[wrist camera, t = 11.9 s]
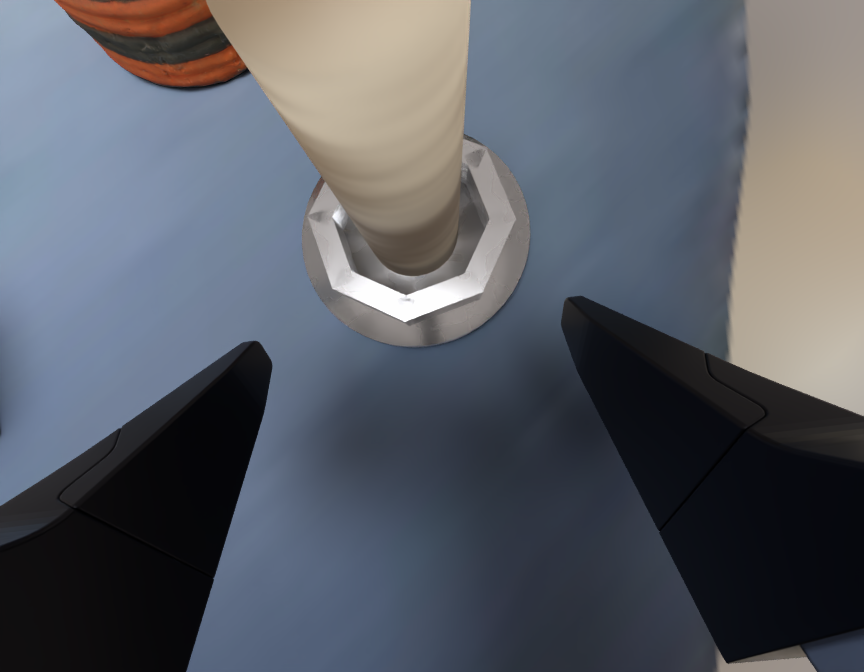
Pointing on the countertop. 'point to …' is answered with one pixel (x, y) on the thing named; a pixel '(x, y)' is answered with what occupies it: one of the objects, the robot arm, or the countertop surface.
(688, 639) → the countertop surface
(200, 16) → the beer stein
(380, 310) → the socket ring
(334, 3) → the knob post
